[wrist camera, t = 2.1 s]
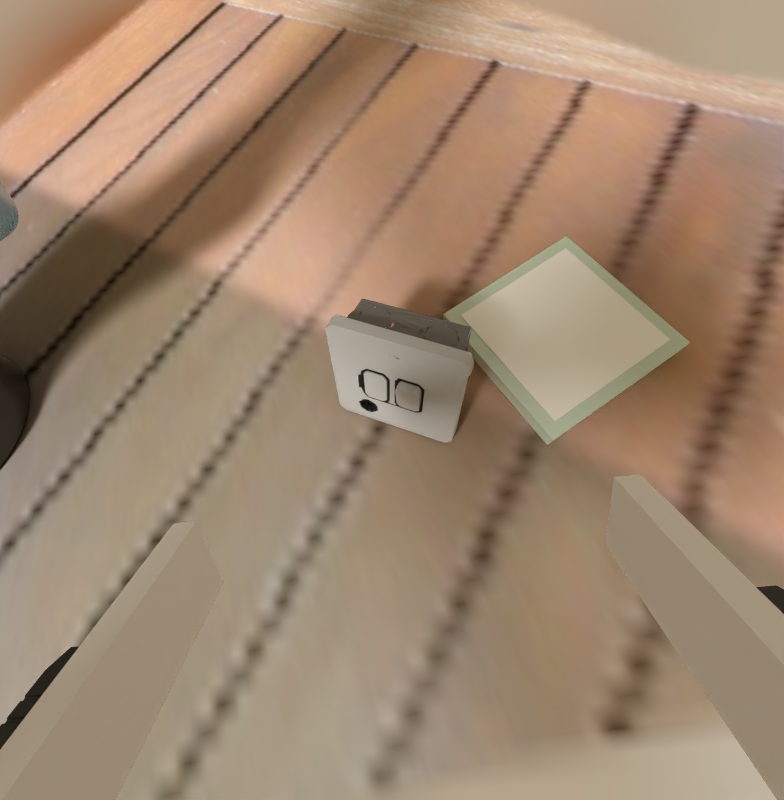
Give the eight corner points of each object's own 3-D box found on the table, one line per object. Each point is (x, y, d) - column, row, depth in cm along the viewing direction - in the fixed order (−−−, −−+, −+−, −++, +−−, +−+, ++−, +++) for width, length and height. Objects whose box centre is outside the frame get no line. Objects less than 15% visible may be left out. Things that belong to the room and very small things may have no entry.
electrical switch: (340, 409, 30) (310, 344, 22) (365, 358, 32) (346, 280, 24) (451, 447, 28) (464, 391, 20) (470, 390, 30) (489, 317, 22)
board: (442, 323, 32) (443, 313, 30) (560, 248, 33) (566, 235, 32) (547, 445, 27) (553, 439, 26) (678, 352, 29) (691, 342, 27)
